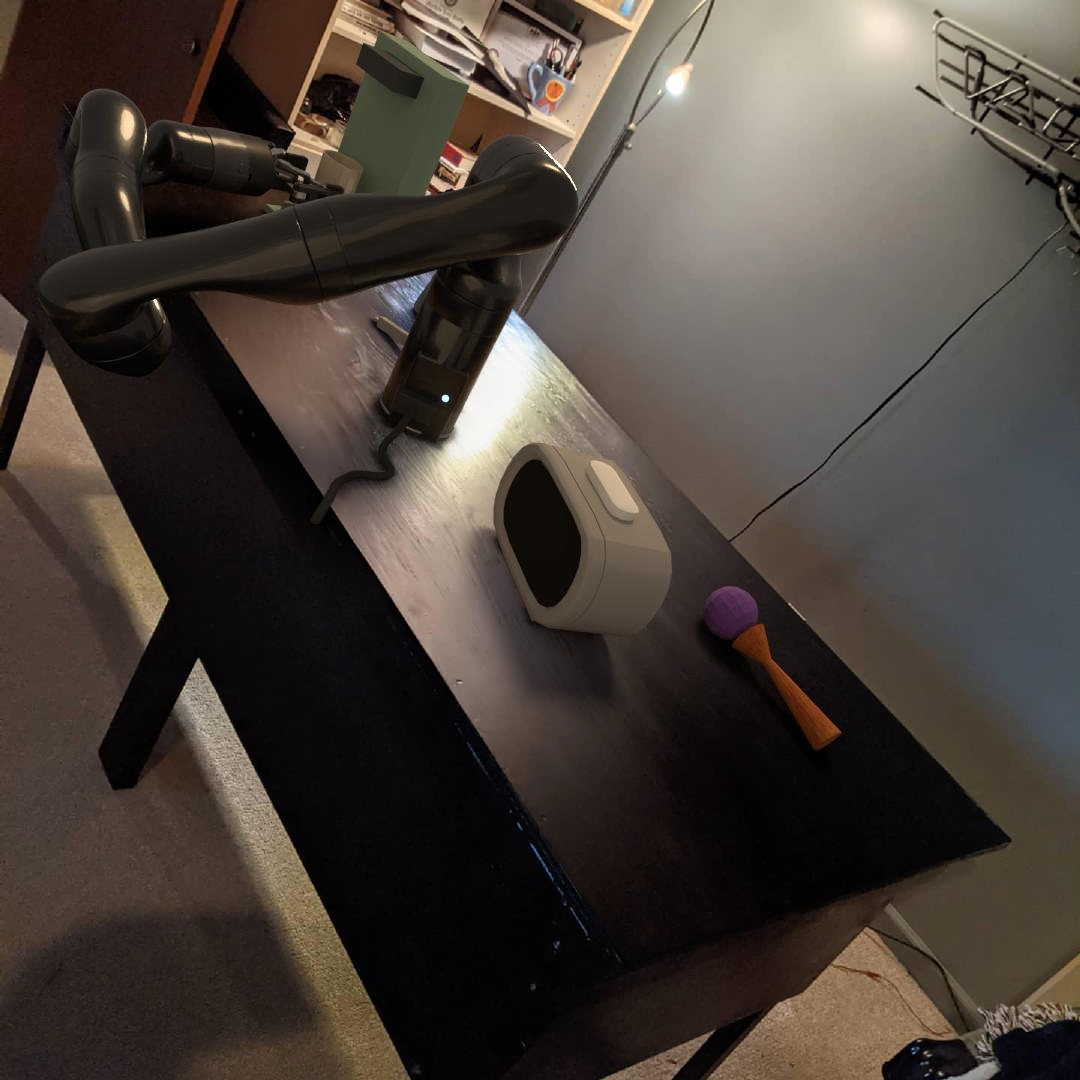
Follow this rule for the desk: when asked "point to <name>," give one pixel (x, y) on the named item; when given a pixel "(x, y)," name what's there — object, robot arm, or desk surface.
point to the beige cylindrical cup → (339, 171)
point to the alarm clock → (580, 542)
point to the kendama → (764, 657)
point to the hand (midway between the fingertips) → (323, 179)
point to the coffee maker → (399, 118)
